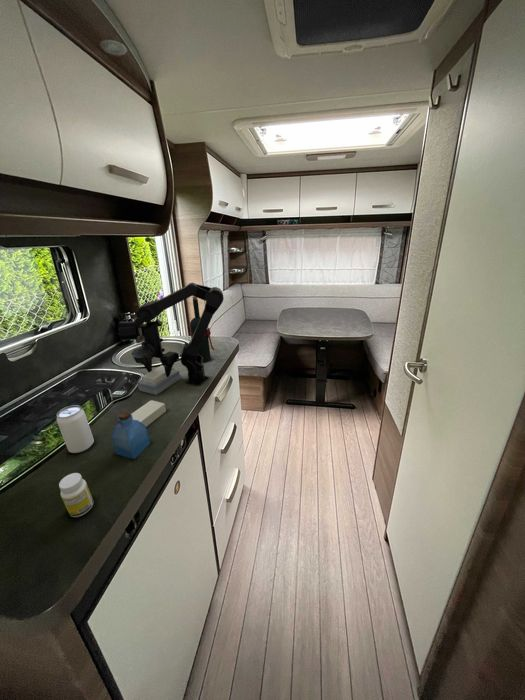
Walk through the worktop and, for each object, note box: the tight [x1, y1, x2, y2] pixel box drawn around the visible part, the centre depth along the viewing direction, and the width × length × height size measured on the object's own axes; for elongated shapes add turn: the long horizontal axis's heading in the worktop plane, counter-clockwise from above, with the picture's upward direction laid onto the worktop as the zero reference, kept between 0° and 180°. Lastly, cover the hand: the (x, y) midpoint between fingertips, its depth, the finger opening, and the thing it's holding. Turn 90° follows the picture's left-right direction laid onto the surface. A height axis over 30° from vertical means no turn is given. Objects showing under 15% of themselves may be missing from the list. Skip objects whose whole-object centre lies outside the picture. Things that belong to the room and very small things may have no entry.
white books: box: [131, 399, 167, 428], centre depth 90 cm, size 11×6×3 cm, turn 156°
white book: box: [141, 364, 175, 384], centre depth 109 cm, size 11×6×2 cm, turn 156°
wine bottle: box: [189, 296, 215, 364], centre depth 126 cm, size 8×10×30 cm
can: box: [56, 404, 95, 454], centre depth 77 cm, size 6×6×12 cm
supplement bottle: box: [58, 472, 94, 518], centre depth 60 cm, size 5×5×8 cm
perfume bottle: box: [110, 409, 151, 460], centre depth 76 cm, size 6×6×12 cm
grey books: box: [137, 369, 182, 396], centre depth 110 cm, size 14×9×4 cm, turn 156°
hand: (159, 374), depth 109 cm, fingers open, 9 cm apart
